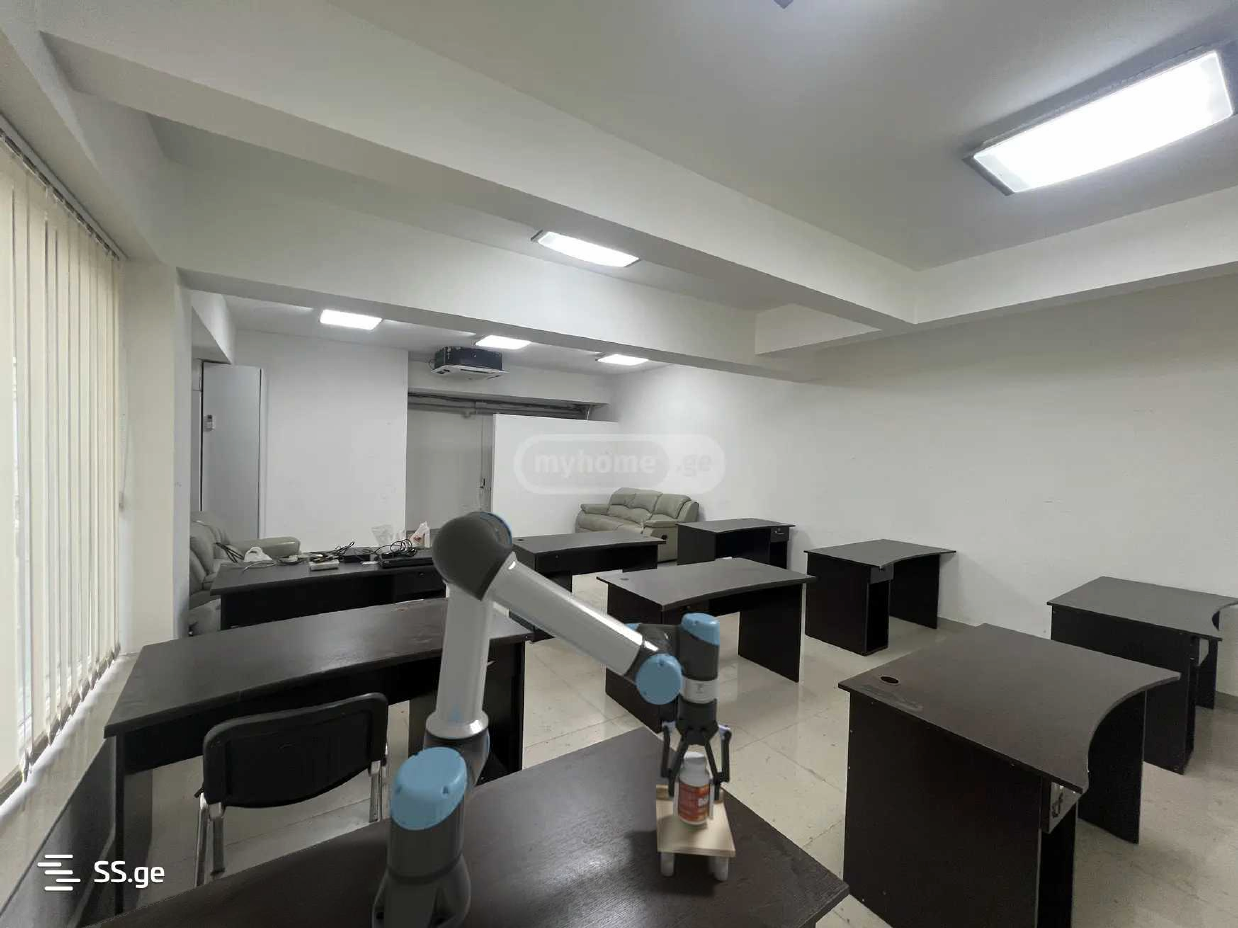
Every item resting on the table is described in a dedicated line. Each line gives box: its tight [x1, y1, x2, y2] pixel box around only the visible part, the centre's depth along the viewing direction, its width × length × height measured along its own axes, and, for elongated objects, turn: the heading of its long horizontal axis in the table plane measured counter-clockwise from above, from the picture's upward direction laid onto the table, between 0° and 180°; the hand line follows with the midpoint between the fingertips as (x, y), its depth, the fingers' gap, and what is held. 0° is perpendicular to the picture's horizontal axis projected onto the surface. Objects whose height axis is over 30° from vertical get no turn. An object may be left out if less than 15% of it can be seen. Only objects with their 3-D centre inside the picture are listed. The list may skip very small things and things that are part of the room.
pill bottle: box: [677, 751, 711, 825], centre depth 96 cm, size 6×6×11 cm
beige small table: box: [655, 784, 736, 882], centre depth 96 cm, size 14×14×8 cm
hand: (692, 813), depth 96 cm, fingers closed on pill bottle, 6 cm apart
